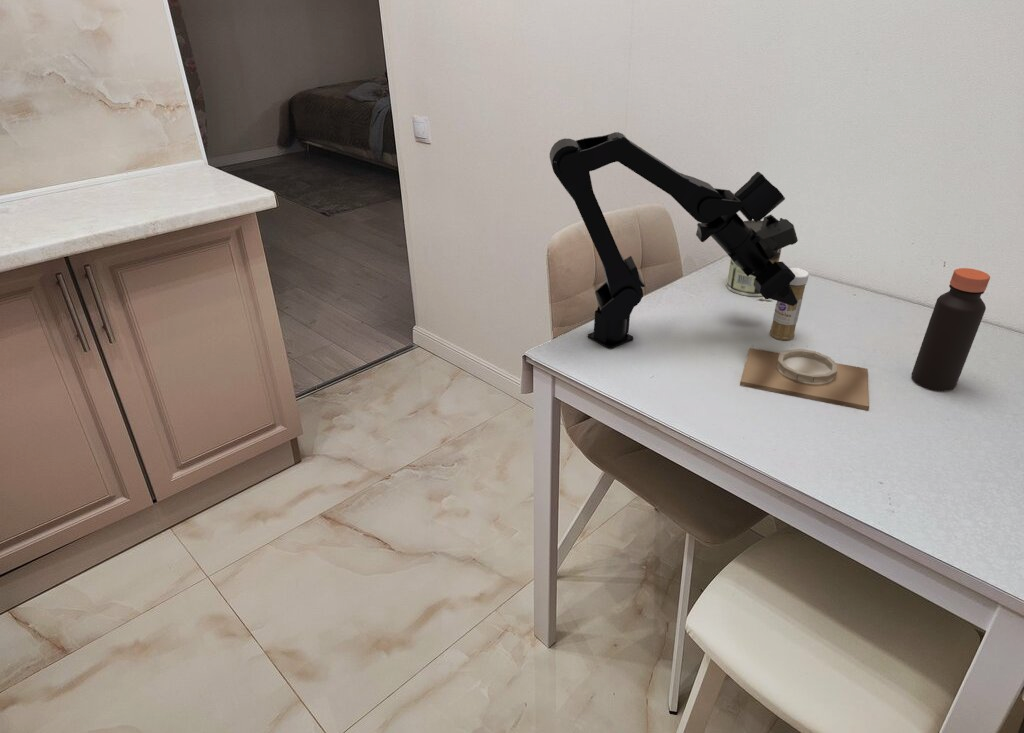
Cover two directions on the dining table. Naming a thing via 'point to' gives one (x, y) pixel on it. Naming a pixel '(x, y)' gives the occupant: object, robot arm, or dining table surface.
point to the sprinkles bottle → (789, 308)
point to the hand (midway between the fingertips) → (785, 293)
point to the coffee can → (738, 278)
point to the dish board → (807, 377)
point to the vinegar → (951, 331)
